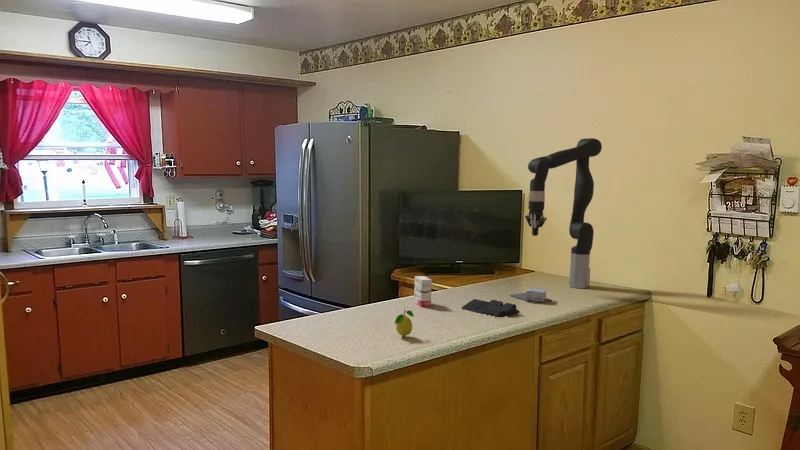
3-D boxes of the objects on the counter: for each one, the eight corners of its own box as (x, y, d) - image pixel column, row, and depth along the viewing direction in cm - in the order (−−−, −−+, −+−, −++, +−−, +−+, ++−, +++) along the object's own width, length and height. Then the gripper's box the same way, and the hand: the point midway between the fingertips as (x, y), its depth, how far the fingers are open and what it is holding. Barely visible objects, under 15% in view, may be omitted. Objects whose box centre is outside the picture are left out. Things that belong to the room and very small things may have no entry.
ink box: (431, 306, 246) (432, 279, 244) (420, 307, 244) (421, 279, 243) (423, 301, 254) (424, 275, 252) (413, 302, 252) (414, 276, 251)
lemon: (413, 334, 204) (414, 306, 203) (414, 339, 199) (414, 311, 198) (394, 334, 204) (395, 306, 203) (394, 339, 198) (395, 310, 197)
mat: (527, 293, 275) (527, 292, 275) (551, 301, 261) (551, 299, 261) (509, 295, 269) (509, 294, 269) (533, 303, 256) (533, 302, 256)
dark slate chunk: (479, 304, 254) (479, 293, 254) (522, 313, 239) (523, 302, 239) (458, 309, 243) (458, 298, 243) (502, 320, 228) (503, 308, 228)
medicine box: (546, 289, 263) (544, 292, 255) (545, 298, 263) (543, 302, 255) (528, 287, 266) (526, 290, 258) (528, 296, 266) (525, 300, 258)
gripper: (552, 201, 276) (550, 237, 278) (532, 199, 287) (531, 233, 289) (540, 201, 272) (538, 237, 274) (521, 199, 283) (519, 234, 285)
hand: (534, 235), depth 282 cm, fingers closed
